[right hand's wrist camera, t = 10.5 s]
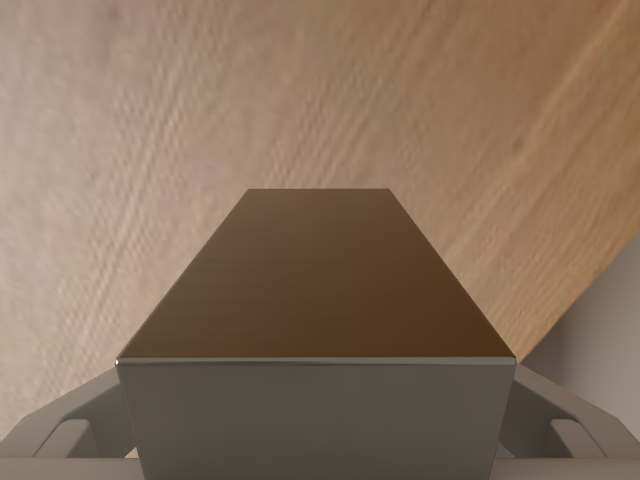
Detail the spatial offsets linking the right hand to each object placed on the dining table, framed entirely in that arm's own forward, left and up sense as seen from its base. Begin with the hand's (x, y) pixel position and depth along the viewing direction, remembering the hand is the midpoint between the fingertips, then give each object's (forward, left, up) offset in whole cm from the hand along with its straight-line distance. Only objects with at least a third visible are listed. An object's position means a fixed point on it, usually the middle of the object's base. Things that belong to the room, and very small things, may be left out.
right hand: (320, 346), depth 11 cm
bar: (+9, 0, -3) cm, 9 cm away
